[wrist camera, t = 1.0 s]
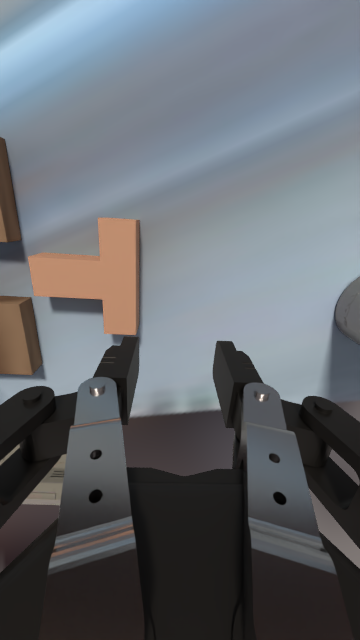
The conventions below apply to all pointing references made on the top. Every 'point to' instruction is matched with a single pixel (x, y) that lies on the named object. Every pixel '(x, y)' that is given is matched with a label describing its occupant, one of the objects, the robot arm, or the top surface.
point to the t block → (98, 275)
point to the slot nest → (7, 311)
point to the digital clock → (46, 484)
